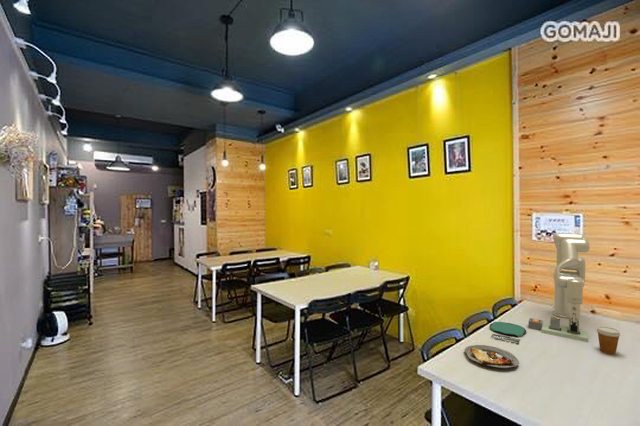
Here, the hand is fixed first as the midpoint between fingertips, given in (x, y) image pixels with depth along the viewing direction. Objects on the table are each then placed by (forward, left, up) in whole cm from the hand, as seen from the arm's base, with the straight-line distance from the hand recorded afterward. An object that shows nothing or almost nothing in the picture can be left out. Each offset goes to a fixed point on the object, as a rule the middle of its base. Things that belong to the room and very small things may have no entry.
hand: (573, 329), depth 192 cm
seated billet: (-4, -8, -3) cm, 10 cm away
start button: (-9, -16, -1) cm, 19 cm away
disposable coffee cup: (+20, +5, -4) cm, 21 cm away
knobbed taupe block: (0, 0, -1) cm, 1 cm away
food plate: (+37, -60, -4) cm, 71 cm away
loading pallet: (-4, -7, -4) cm, 9 cm away
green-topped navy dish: (+1, -38, -4) cm, 38 cm away
